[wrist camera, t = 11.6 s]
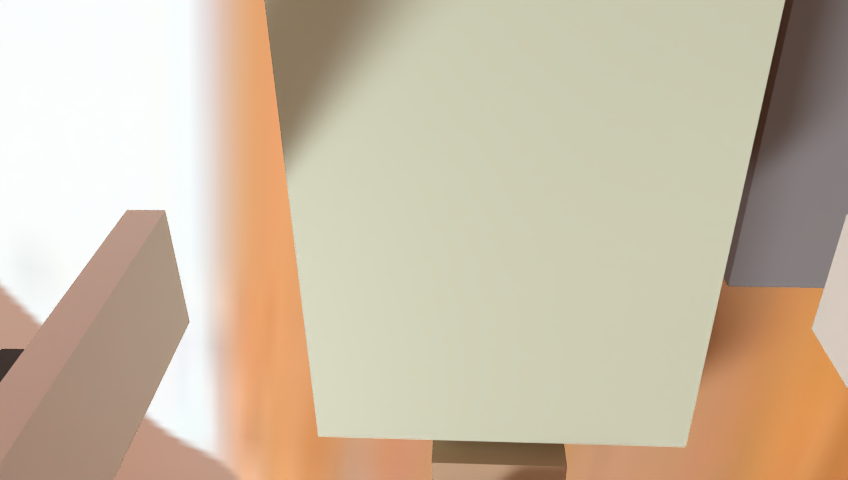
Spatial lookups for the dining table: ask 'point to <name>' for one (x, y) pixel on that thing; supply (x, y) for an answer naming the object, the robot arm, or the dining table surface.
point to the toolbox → (497, 460)
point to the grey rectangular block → (515, 208)
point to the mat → (797, 156)
